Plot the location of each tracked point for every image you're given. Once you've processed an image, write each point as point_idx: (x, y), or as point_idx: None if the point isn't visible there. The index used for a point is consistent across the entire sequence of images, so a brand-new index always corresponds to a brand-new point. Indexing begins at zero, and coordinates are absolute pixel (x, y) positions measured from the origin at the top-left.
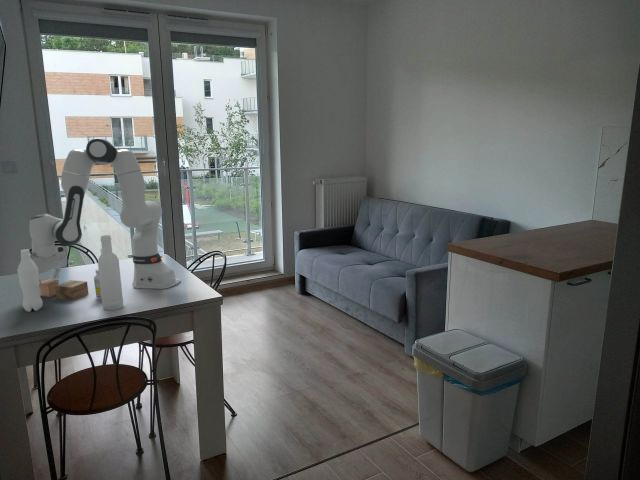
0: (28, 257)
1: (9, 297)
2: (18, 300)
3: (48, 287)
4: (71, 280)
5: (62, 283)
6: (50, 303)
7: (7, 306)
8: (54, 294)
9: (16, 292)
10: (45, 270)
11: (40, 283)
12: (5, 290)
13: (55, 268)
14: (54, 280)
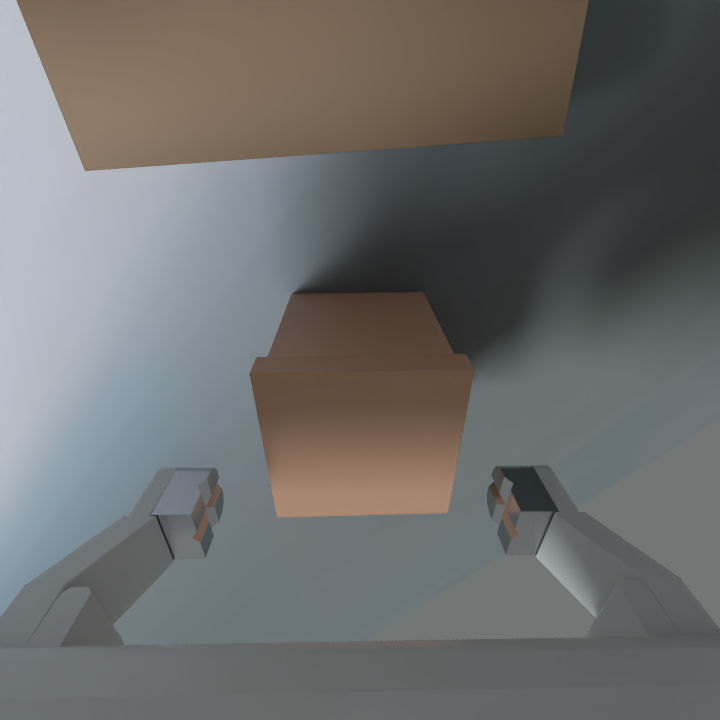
0: None
1: (496, 540)
2: (557, 452)
3: (448, 343)
4: (84, 118)
5: (355, 123)
6: (678, 24)
7: (713, 411)
8: (360, 294)
9: (395, 575)
10: (486, 689)
11: (451, 481)
12: (382, 629)
13: (134, 662)
14: (287, 421)
